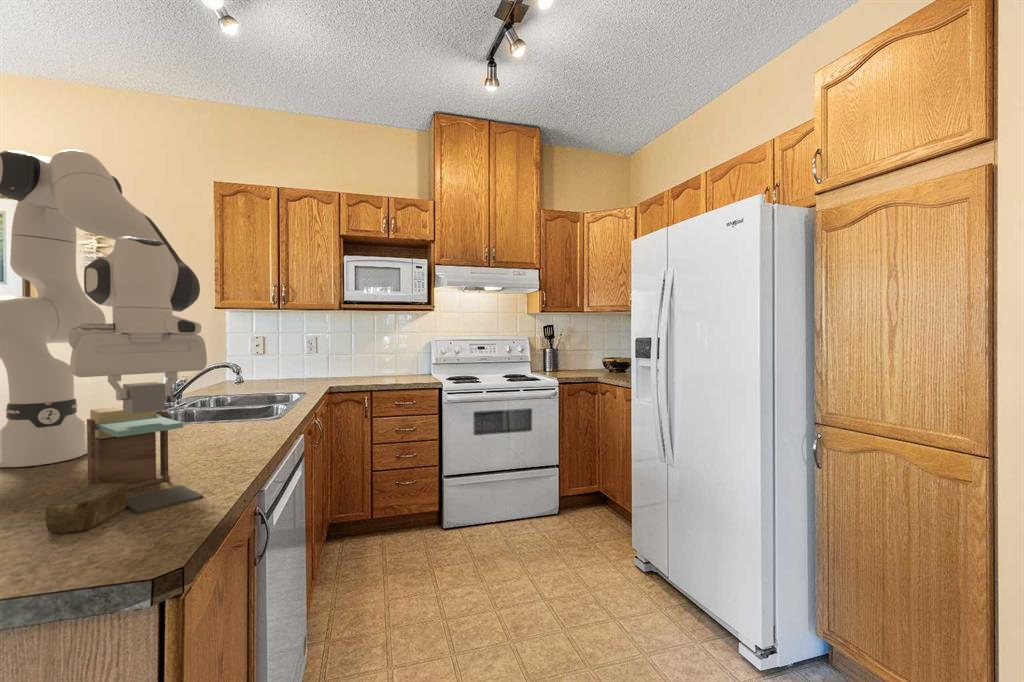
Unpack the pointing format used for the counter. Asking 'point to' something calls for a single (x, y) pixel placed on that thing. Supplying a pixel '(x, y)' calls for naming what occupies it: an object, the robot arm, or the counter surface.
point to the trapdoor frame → (126, 458)
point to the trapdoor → (128, 422)
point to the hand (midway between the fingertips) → (144, 397)
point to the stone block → (86, 507)
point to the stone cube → (144, 397)
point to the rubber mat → (161, 499)
